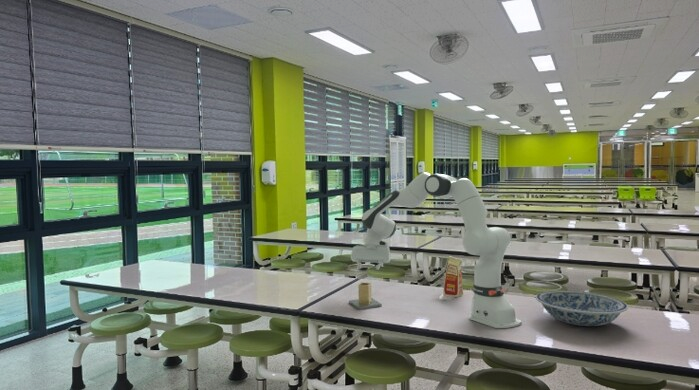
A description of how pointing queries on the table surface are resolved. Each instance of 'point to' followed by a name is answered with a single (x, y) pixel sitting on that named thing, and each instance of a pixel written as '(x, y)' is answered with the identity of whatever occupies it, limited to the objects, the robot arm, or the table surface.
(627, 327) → the table surface
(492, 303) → the robot arm
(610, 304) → the ceramic bowl
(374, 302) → the grey peg base
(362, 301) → the sleeve
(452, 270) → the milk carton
